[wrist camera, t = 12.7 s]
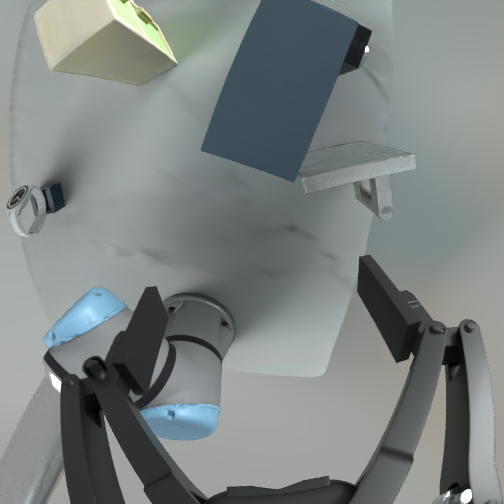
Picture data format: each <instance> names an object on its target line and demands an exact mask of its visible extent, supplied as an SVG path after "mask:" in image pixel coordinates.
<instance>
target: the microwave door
mask: <svg viewBox="0 0 504 504" xmlns="http://www.w3.org/2000/svg"><path fill="white" fill-rule="evenodd" d="M415 169H416V161H415V155H413V154H410V153H407V152H403V151H400V150H397V149H394V148H390V147H386V146H383V145H379V144H375V143H371V142H367V141H360V142H355V143H349V144H344V145H339V146H334V147H329V148H325V149H320V150H315V151H311V152H307V153H306V155H305V158H304V160H303V163H302V165H301V168H300V170H299V172H298V175H297V177H296V181H297V183H298V184H299V185H300V187H301V188H302V189H303V190H304V192H305V193H306V194H308V193H312V192H316V191H320V190H324V189H328V188H332V187H337V186H341V185H345V184H349V183H354V188H355V195H356V198H357V200H358V201H360V202H361V203H362V204H363V205H365V206H366V207H367V208H368V209H369V210H371V211H372V212H373V213H374V214H375V215H376V216H378V217H379V218H380V219H381V220H383V221H388V220H390V219H391V218H392V216H393V199H392V188H391V179H390V174H395V173H400V172H405V171H409V170H415Z"/></svg>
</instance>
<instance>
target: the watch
mask: <svg viewBox="0 0 504 504" xmlns="http://www.w3.org/2000/svg"><path fill="white" fill-rule="evenodd" d="M30 199H31V203H32V207H33V210H34V214H35V217H36V218H35V220H34V223H33V225H32V227H31V228H30V230H29V232H28V233H27V232H26V231H25V230H24V229H23V228H22V227H21V225H20V222H19V220H18V216H19V215H20V214H21V211H22V209H23V208H24V207H25V206H26V205H27V203H28V202H29V200H30ZM63 207H65V204H64V200H63V195H62V191H61V186H60V183H57V184H53V185H50V186H46V187H43V188H38V187H37V186H34V185H31V186H27V185H24V186H22V187H20V188H19V189H18V190H17V191H15V193H14V194H13V195H12V196H11V198H10V199H9V201H8V204H7V209H8V218H9V222H10V225H11V227H12V229H13V231H14V232H15V233H16V234H17V235H19V236H21V237H27V236H32V235H35V234H37V233H38V232H39V231H40V229H41V228H42V226H43V224H44V221H45V219H46V216H47V215H46V214H50V213H55V212H57V211H58V210H60V209H61V208H63Z"/></svg>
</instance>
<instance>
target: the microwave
mask: <svg viewBox="0 0 504 504" xmlns="http://www.w3.org/2000/svg"><path fill="white" fill-rule="evenodd" d="M371 33H372V31H371V30H370V29H368V28H366V27H364V26H362V25H361V24H359V22H357V21H355V20H353V19H351V18H349V17H347V16H345V15H343V14H341V13H339V12H337V11H335V10H332V9H330V8H328V7H326V6H323V5H321V4H319V3H316V2H314V1H311V0H261V2H260V4H259V6H258V8H257V10H256V12H255V14H254V17H253V19H252V21H251V23H250V25H249V27H248V29H247V31H246V34H245V36H244V38H243V40H242V43H241V45H240V47H239V49H238V52H237V54H236V56H235V59H234V61H233V64H232V66H231V68H230V71H229V73H228V76H227V78H226V81H225V83H224V86H223V88H222V91H221V94H220V96H219V99H218V102H217V104H216V107H215V110H214V113H213V115H212V118H211V121H210V124H209V127H208V130H207V133H206V135H205V138H204V141H203V144H202V147H201V151H203V152H206V153H210V154H213V155H216V156H219V157H223V158H226V159H229V160H232V161H235V162H238V163H241V164H244V165H247V166H250V167H253V168H256V169H259V170H261V171H264V172H267V173H270V174H273V175H275V176H278V177H281V178H284V179H286V180H289V181H291V182H295V180H296V177H297V175H298V172H299V170H300V168H301V165H302V163H303V160H304V158H305V155H306V153H307V151H308V148H309V146H310V143H311V141H312V138H313V136H314V134H315V131H316V129H317V126H318V124H319V121H320V119H321V116H322V114H323V111H324V109H325V107H326V104H327V102H328V99H329V97H330V94H331V92H332V89H333V87H334V84H335V82H336V79H337V77H338V76H340V75H342V74H345V73H347V72H350V71H352V70H355V69H358V68H360V67H361V66H362V64H363V63H364V61H365V60H366V58H367V55H368V52H369V48H368V46H367V44H368V41H369V39H370V36H371Z"/></svg>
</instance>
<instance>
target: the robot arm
mask: <svg viewBox="0 0 504 504" xmlns="http://www.w3.org/2000/svg"><path fill="white" fill-rule="evenodd" d="M357 292H358V294H359V296H360V297H361V299H362V301H363V303H364V304H365V306H366V308H367V309H368V311H369V313H370V315H371V317H372V318H373V320H374V322H375V324H376V326H377V327H378V329H379V331H380V333H381V335H382V337H383V339H384V340H385V342H386V344H387V346H388V348H389V350H390V352H391V354H392V355H393V358H394V359H395V361H396V363H398V362H401V361H404V360H407V359H409V356H410V353H411V352H412V354H413V356H414V359H413V361H412V364H411V366H410V371H409V374H408V376H407V379H406V382H405V385H404V387H403V390H402V393H401V396H400V398H399V400H398V403H397V405H396V408H395V410H394V412H393V415H392V417H391V420H390V421H389V424H388V426H387V428H386V430H385V432H384V434H383V437H382V438H381V440H380V442H379V444H378V446H377V448H376V450H375V452H374V454H373V456H372V457H371V459H370V461H369V463H368V465H367V467H366V468H365V470H364V471H363V473H362V474H361V476H360V478H359V479H358V480H357V482H356V484H355V485H353V484H351V483H349V482H346V481H341V480H329V476H324V477H320V478H314V479H309V480H303V481H301V482H298V483H295V484H293V485H290V486H287V487H284V488H282V489H269V488H262V487H254V486H240V487H239V486H238V487H227V491H224V492H221V493H218V494H216V495H214V496H212V497H210V498H209V499H208V498H207V497H206V496H205V495H204V494H203V493H202V492H201V491H200V490H199V489H197V488H196V487H195V486H194V484H193V483H192V482H191V481H190V480H189V479H188V478H187V477H186V475H185V474H184V473H183V472H182V470H181V469H180V468H179V467H178V465H177V464H176V463H175V462H174V460H173V459H172V458H171V456H170V455H169V454H168V452H167V451H166V450H165V448H164V447H163V446H162V444H161V443H160V441H159V440H158V439H157V437H160V438H165V439H170V440H197V439H202V438H205V437H207V436H209V435H211V434H212V433H213V432H214V431H215V430H216V428H217V424H218V416H219V413H220V396H221V374H222V360H223V359H224V357H225V355H226V353H227V351H228V349H229V347H230V345H231V344H232V342H233V339H234V321H233V318H232V316H231V314H230V313H229V311H228V310H227V309H226V308H225V307H224V306H223V305H221V304H220V303H219V302H217V301H215V300H213V299H211V298H209V297H206V296H203V295H199V294H179V295H175V296H172V297H170V298H168V299H166V300H165V301H164V302H162V300H161V297H160V295H159V292H158V289H157V287H156V286H154V287H146V288H145V290H144V293H143V295H142V297H141V299H140V301H139V303H138V305H137V307H136V309H135V311H134V312H133V311H131V310H130V309H129V308H128V307H127V304H126V303H125V302H122V301H120V300H119V299H118V298H117V297H115V296H114V295H113V294H112V293H111V292H110V291H108V290H107V289H106V288H103V287H94V288H92V289H90V290H89V291H88V292H87V293H86V294H84V295H83V296H82V297H81V298H80V299H79V300H78V301H77V302H76V303H75V304H74V305H73V306H72V307H71V308H70V309H69V310H68V311H67V312H66V313H65V314H64V315H63V316H62V317H61V318H60V319H59V320H58V321H57V322H56V323H55V324H54V326H53V327H52V328H51V329H50V330H49V331H48V332H47V333H46V334H45V336H44V337H43V342H44V344H45V347H47V348H49V349H48V351H47V352H46V354H45V356H44V357H43V364H44V369H45V377H44V379H43V380H42V382H41V384H40V386H39V387H38V389H37V390H36V392H35V394H34V395H33V397H32V399H31V401H30V403H29V405H28V406H27V408H26V410H25V412H24V413H23V415H22V417H21V419H20V421H19V423H18V425H17V427H16V429H15V431H14V433H13V435H12V437H11V439H10V441H9V443H8V445H7V447H6V450H5V452H4V454H3V456H2V459H1V461H0V504H47V503H48V502H49V500H50V498H51V496H52V494H53V492H54V490H55V489H56V487H57V485H58V483H59V481H60V479H61V478H62V476H63V474H64V472H65V476H66V482H67V488H68V493H69V498H70V503H71V504H125V501H124V498H123V495H122V492H121V489H120V486H119V483H118V479H117V475H116V472H115V468H114V464H113V460H112V456H111V451H110V447H109V442H108V437H107V432H106V427H105V421H104V415H105V417H106V419H107V421H108V423H109V425H110V427H111V429H112V431H113V433H114V435H115V437H116V439H117V441H118V443H119V444H120V446H121V448H122V450H123V452H124V453H125V455H126V457H127V459H128V460H129V462H130V464H131V465H132V467H133V469H134V470H135V472H136V473H137V475H138V477H139V478H140V480H141V481H142V483H143V484H144V492H145V493H146V495H147V497H148V498H149V500H150V501H151V503H152V504H393V502H394V500H395V498H396V496H397V495H398V493H399V491H400V489H401V487H402V485H403V483H404V481H405V479H406V477H407V475H408V472H409V470H410V468H411V466H412V463H413V455H414V452H415V449H416V447H417V445H418V442H419V439H420V437H421V434H422V431H423V428H424V425H425V423H426V420H427V416H428V414H429V411H430V407H431V404H432V401H433V397H434V394H435V390H436V386H437V382H438V378H439V374H440V370H441V365H445V374H446V430H445V445H444V455H443V463H442V471H441V479H440V496H438V497H437V498H436V499H435V500H434V502H433V503H432V504H503V497H502V492H501V487H500V482H499V478H498V474H497V470H496V466H495V418H494V407H493V396H492V388H491V380H490V374H489V368H488V362H487V357H486V352H485V348H484V344H483V339H482V335H481V331H480V328H479V325H478V324H477V323H476V322H474V321H473V320H469V319H466V320H463V321H461V323H460V325H459V327H456V328H455V327H453V328H446V326H445V325H444V324H443V323H441V322H438V321H433V319H432V318H431V317H430V315H429V314H428V313H427V311H426V310H425V309H424V308H423V306H421V304H420V303H419V301H418V300H417V299H416V297H415V296H414V295H413V294H412V293H410V292H408V291H407V290H405V291H401V292H399V290H398V289H397V288H396V287H395V285H394V284H393V283H392V282H391V280H390V279H389V278H388V276H387V275H386V274H385V273H384V272H383V270H382V269H381V268H380V266H379V265H378V264H377V263H376V261H375V260H374V259H373V258H372V257H371V255H366V256H360V257H359V273H358V287H357Z"/></svg>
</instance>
